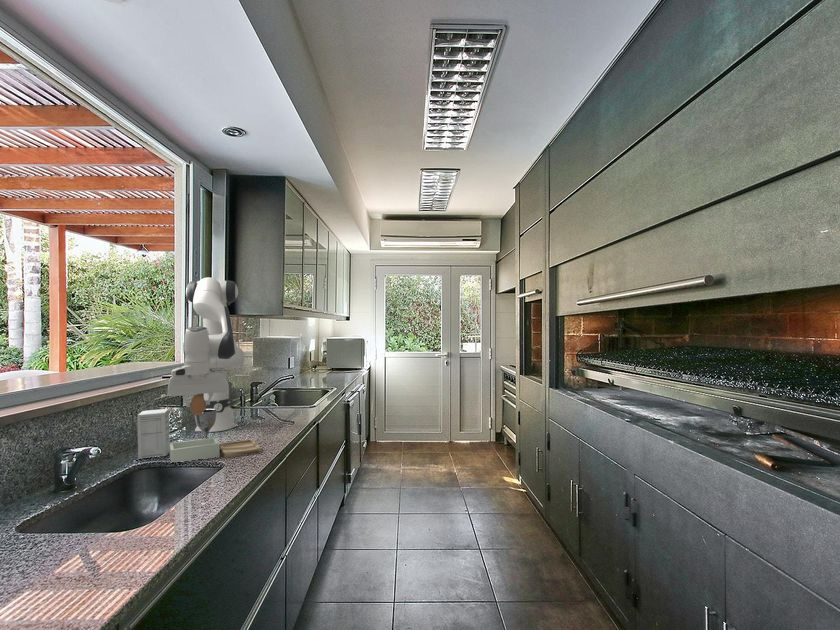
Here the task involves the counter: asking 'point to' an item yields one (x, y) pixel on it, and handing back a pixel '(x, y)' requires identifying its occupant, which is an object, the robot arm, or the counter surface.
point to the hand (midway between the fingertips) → (197, 405)
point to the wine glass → (206, 420)
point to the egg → (197, 405)
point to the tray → (239, 448)
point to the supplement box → (153, 433)
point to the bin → (194, 449)
